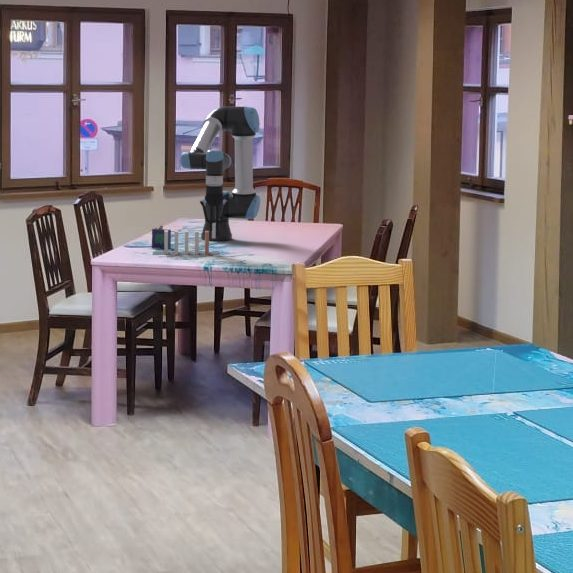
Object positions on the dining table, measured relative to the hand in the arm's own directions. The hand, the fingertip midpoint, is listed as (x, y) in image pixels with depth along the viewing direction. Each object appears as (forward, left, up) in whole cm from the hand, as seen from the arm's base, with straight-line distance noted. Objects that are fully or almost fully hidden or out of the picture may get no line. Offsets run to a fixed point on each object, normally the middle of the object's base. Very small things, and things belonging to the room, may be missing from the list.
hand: (213, 237), depth 532 cm
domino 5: (-2, -2, -7) cm, 8 cm away
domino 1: (-15, -15, -7) cm, 22 cm away
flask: (-29, -4, -8) cm, 30 cm away
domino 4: (-5, -5, -7) cm, 10 cm away
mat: (-9, -8, -7) cm, 14 cm away
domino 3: (-9, -8, -7) cm, 14 cm away
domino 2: (-12, -12, -7) cm, 18 cm away
